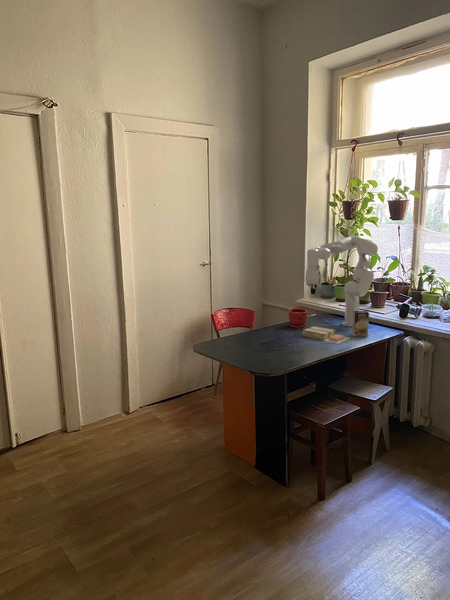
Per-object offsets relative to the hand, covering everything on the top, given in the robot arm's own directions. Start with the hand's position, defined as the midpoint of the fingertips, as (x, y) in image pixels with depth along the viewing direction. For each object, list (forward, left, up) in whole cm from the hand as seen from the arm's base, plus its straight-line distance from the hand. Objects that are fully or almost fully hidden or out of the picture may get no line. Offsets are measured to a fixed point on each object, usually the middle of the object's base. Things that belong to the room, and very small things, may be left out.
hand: (313, 294), depth 303 cm
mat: (+10, +25, -26) cm, 37 cm away
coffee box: (-8, +31, -26) cm, 41 cm away
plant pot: (-2, -14, -26) cm, 29 cm away
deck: (+10, +11, -26) cm, 30 cm away
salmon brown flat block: (+11, +25, -23) cm, 36 cm away
